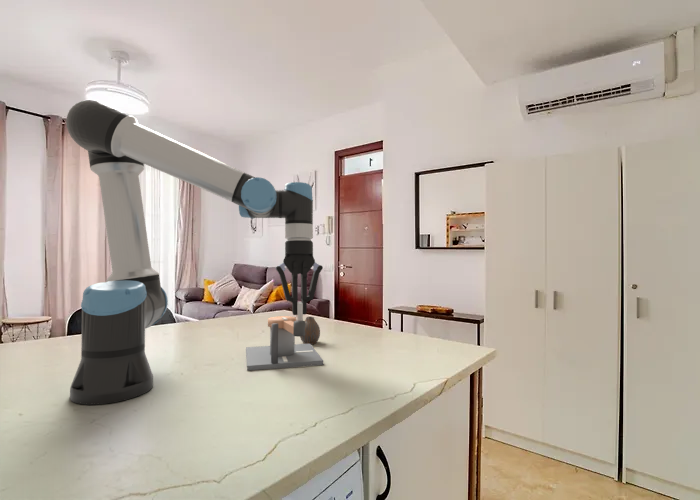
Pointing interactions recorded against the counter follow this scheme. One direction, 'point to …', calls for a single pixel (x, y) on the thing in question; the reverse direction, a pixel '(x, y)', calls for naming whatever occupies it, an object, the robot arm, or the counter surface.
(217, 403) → the counter surface
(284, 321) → the wooden cross piece
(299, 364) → the post base
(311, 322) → the vase
